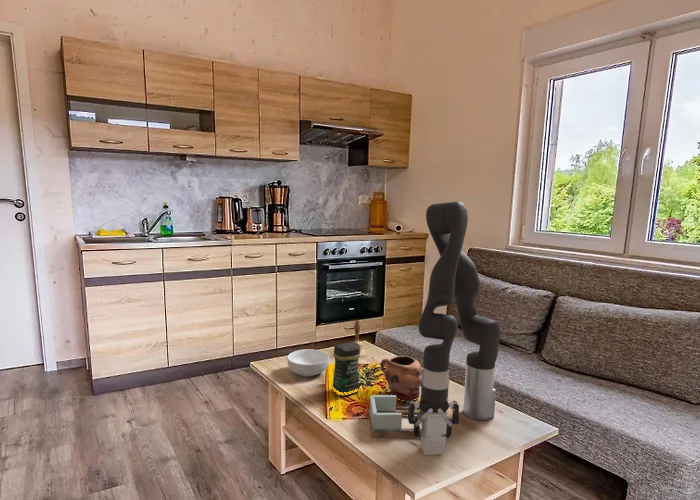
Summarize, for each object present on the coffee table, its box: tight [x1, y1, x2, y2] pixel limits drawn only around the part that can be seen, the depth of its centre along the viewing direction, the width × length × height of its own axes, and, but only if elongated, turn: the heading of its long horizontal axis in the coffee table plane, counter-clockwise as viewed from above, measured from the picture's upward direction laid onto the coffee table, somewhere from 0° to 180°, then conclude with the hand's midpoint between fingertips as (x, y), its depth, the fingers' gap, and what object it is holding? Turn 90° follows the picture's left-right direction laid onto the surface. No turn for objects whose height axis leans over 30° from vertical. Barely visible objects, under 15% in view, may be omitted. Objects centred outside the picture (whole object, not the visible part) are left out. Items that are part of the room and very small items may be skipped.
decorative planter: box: [380, 355, 423, 401], centre depth 156 cm, size 20×12×14 cm, turn 51°
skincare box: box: [420, 411, 448, 456], centre depth 122 cm, size 6×4×12 cm
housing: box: [369, 394, 403, 430], centre depth 136 cm, size 9×13×5 cm
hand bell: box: [353, 319, 367, 358], centre depth 196 cm, size 8×8×16 cm
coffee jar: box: [332, 340, 360, 393], centre depth 158 cm, size 10×8×19 cm
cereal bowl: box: [287, 348, 330, 378], centre depth 175 cm, size 17×17×7 cm
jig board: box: [367, 406, 422, 439], centre depth 137 cm, size 20×15×2 cm
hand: (432, 436), depth 123 cm, fingers open, 8 cm apart
